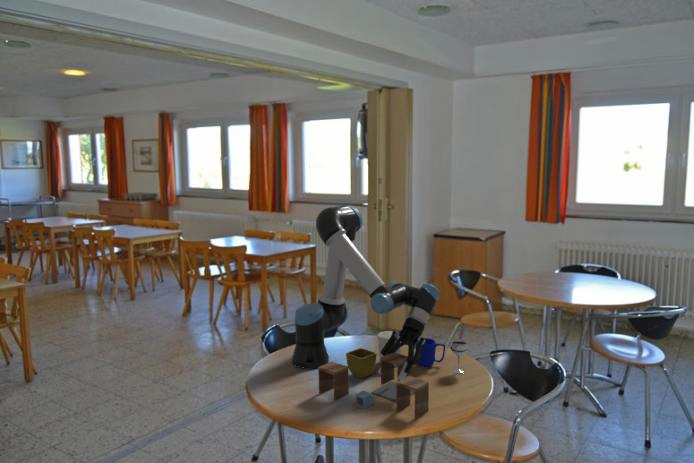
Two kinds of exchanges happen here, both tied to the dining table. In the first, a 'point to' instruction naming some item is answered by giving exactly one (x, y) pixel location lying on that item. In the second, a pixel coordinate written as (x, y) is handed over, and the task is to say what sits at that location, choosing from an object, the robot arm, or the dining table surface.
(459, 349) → the wineglass
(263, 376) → the dining table surface
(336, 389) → the cover left
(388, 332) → the candle holder
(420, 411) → the cover right
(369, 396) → the cube
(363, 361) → the flower pot
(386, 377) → the cover middle
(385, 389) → the mat
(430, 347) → the mug
